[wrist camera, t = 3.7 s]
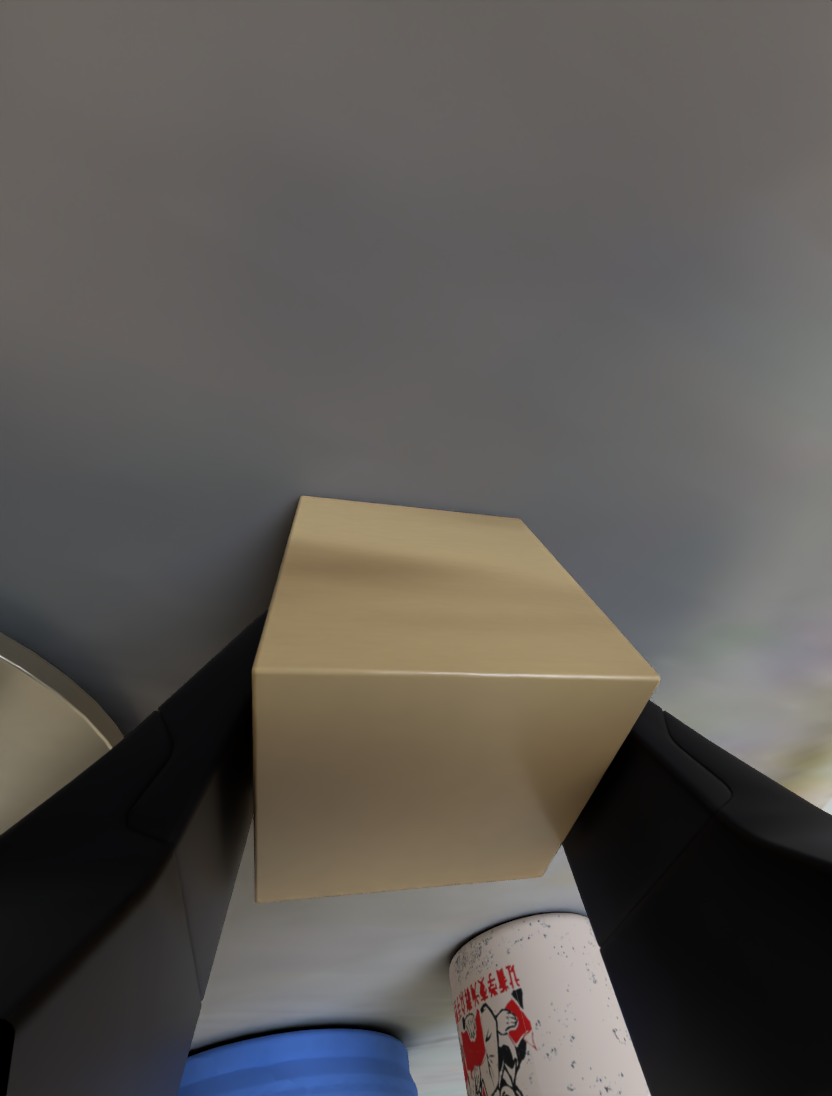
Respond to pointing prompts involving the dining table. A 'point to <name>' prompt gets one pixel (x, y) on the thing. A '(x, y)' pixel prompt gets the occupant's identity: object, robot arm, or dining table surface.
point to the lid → (43, 731)
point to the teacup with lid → (541, 1013)
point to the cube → (427, 703)
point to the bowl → (302, 1066)
